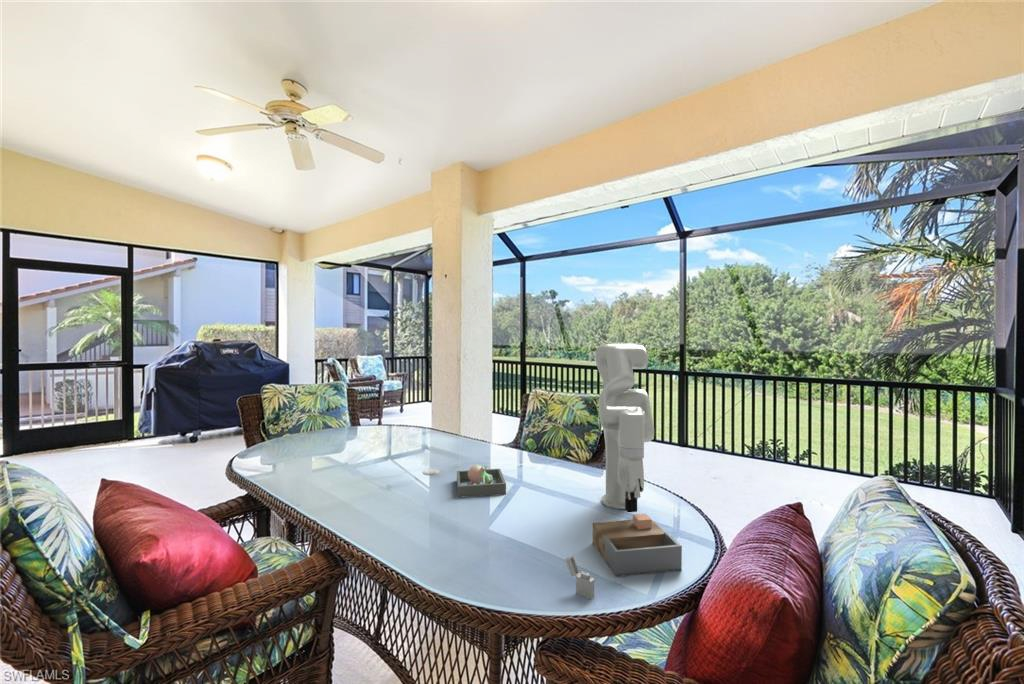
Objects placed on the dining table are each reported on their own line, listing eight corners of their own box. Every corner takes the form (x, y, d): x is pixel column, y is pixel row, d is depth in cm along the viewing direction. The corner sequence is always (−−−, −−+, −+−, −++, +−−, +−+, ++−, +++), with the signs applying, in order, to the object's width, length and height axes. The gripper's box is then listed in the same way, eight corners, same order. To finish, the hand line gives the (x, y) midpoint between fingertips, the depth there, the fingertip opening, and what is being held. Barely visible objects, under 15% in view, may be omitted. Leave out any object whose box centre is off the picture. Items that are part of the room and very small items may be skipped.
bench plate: (592, 542, 133) (592, 522, 133) (650, 538, 136) (650, 518, 135) (604, 560, 123) (604, 538, 123) (666, 554, 126) (666, 533, 126)
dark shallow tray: (456, 480, 187) (456, 471, 187) (500, 478, 189) (500, 468, 189) (458, 497, 169) (458, 486, 169) (506, 494, 172) (505, 483, 171)
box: (604, 560, 123) (604, 537, 123) (666, 554, 126) (666, 532, 126) (615, 576, 115) (615, 551, 115) (681, 570, 118) (681, 546, 118)
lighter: (594, 596, 107) (594, 563, 107) (591, 599, 106) (591, 566, 106) (568, 585, 112) (568, 553, 111) (565, 589, 110) (565, 556, 110)
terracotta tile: (632, 522, 133) (632, 514, 132) (645, 521, 133) (645, 513, 133) (638, 529, 129) (638, 520, 128) (651, 528, 129) (651, 519, 129)
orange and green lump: (490, 478, 172) (502, 474, 179) (474, 458, 176) (487, 455, 184) (472, 499, 175) (485, 494, 183) (457, 479, 179) (471, 475, 187)
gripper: (610, 445, 145) (610, 502, 145) (629, 459, 130) (629, 522, 131) (632, 444, 146) (632, 500, 146) (654, 458, 131) (653, 520, 132)
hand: (631, 510), depth 138 cm, fingers closed
